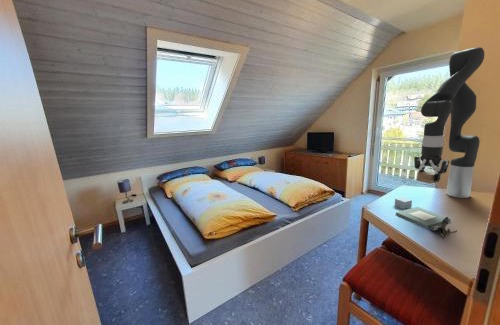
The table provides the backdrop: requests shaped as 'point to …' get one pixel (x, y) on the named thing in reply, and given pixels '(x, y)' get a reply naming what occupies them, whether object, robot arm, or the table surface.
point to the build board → (422, 217)
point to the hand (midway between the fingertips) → (428, 179)
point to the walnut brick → (426, 177)
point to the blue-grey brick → (403, 202)
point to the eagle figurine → (443, 228)
